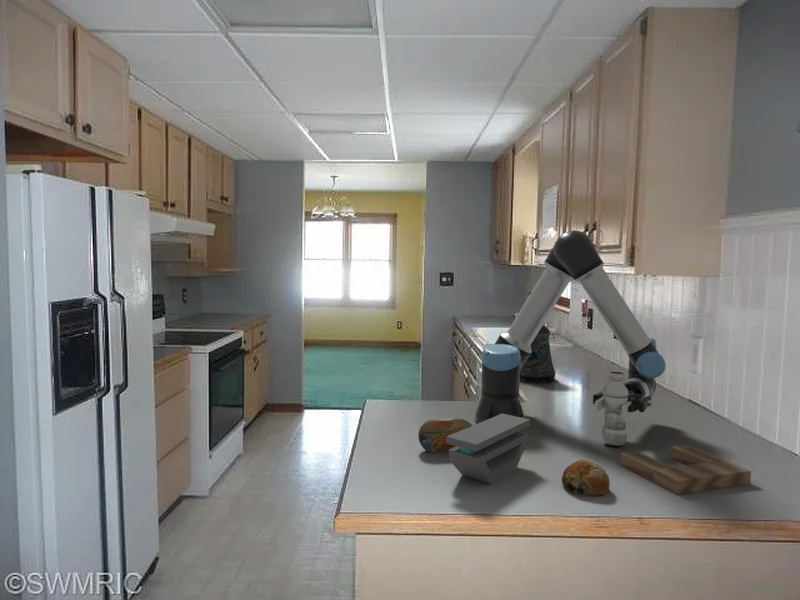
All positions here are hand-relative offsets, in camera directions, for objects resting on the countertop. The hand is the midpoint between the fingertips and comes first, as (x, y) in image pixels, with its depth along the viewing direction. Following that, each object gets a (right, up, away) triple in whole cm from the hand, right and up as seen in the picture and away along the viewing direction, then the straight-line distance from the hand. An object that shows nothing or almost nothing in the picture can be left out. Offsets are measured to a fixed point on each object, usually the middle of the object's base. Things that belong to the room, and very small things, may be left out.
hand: (609, 409), depth 147 cm
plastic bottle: (+3, -11, +5) cm, 12 cm away
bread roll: (-15, -13, -24) cm, 31 cm away
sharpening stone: (-35, -12, -16) cm, 40 cm away
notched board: (+12, -12, -15) cm, 23 cm away
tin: (-44, -11, -1) cm, 45 cm away
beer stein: (0, -5, +88) cm, 88 cm away
